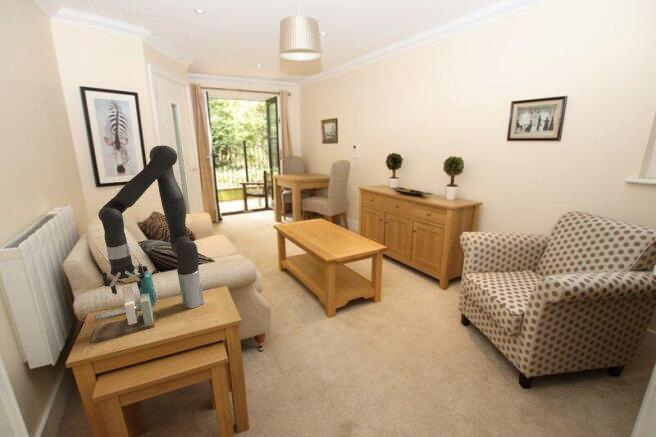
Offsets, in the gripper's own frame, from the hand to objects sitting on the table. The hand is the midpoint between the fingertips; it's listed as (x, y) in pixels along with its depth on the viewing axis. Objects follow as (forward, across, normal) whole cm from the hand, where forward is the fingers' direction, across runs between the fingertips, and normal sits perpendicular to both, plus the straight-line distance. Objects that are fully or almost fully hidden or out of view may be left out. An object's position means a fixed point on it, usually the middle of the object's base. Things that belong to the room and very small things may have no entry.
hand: (127, 291), depth 130 cm
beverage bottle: (+17, -5, -17) cm, 24 cm away
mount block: (+15, -5, 0) cm, 16 cm away
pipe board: (+17, +4, 0) cm, 17 cm away
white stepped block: (+13, 0, 0) cm, 13 cm away
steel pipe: (+10, +4, 0) cm, 11 cm away
